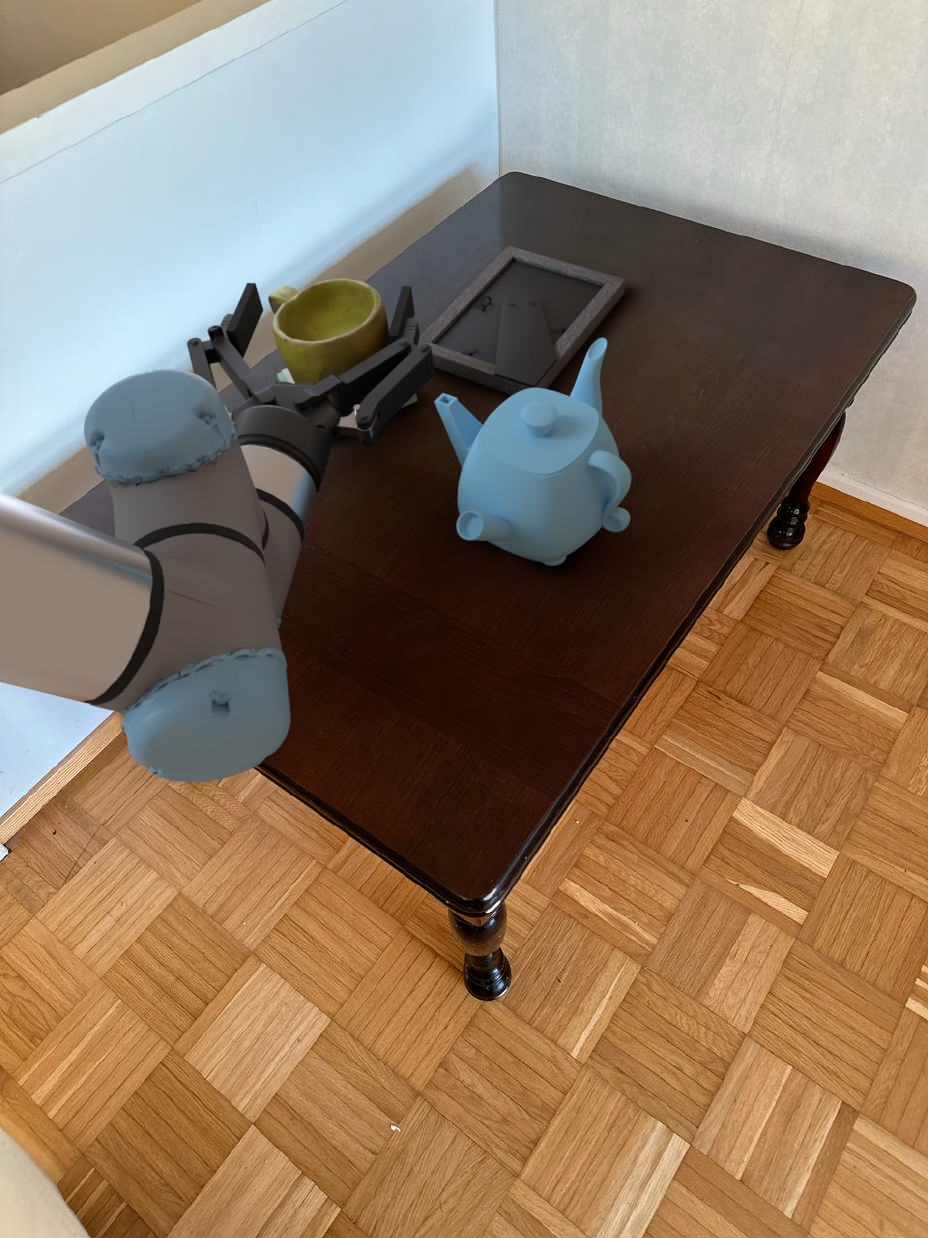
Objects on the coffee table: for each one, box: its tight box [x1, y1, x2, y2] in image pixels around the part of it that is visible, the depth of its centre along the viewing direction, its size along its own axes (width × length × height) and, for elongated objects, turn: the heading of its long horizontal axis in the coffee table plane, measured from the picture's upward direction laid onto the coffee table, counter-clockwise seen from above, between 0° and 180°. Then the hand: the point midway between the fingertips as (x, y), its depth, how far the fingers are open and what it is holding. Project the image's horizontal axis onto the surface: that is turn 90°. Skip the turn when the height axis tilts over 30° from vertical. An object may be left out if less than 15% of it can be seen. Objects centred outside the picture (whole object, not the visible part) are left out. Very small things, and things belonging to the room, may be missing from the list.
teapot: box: [433, 337, 632, 567], centre depth 69 cm, size 15×14×11 cm
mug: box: [267, 278, 390, 414], centre depth 77 cm, size 12×10×10 cm
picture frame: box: [418, 245, 626, 396], centre depth 87 cm, size 13×2×18 cm
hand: (331, 297), depth 78 cm, fingers open, 13 cm apart
